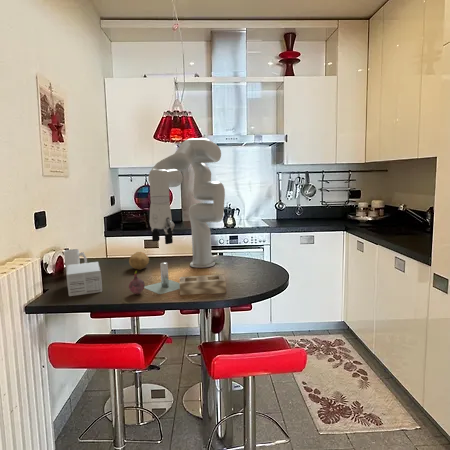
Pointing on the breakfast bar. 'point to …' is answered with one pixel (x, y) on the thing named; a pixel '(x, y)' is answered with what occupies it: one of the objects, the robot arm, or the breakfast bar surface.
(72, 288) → the supplement box
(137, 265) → the potato
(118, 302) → the breakfast bar surface
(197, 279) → the hole block
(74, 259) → the mug
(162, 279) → the pin
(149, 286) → the mat
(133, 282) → the vegetable
